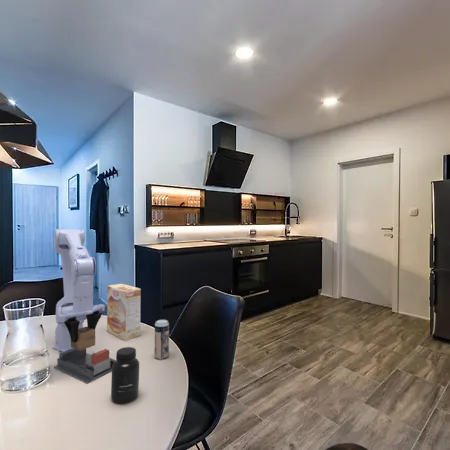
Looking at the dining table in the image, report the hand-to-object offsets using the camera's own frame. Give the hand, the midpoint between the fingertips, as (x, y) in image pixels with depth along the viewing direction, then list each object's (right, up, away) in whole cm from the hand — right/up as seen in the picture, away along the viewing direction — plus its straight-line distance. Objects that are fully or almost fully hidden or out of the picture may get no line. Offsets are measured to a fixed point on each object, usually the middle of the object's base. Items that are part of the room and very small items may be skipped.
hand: (82, 338), depth 90 cm
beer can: (+24, -9, +7) cm, 26 cm away
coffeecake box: (+3, -9, +27) cm, 29 cm away
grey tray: (+2, -9, -1) cm, 9 cm away
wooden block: (0, -2, 0) cm, 2 cm away
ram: (+7, -8, -4) cm, 11 cm away
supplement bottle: (+19, -9, -16) cm, 27 cm away
